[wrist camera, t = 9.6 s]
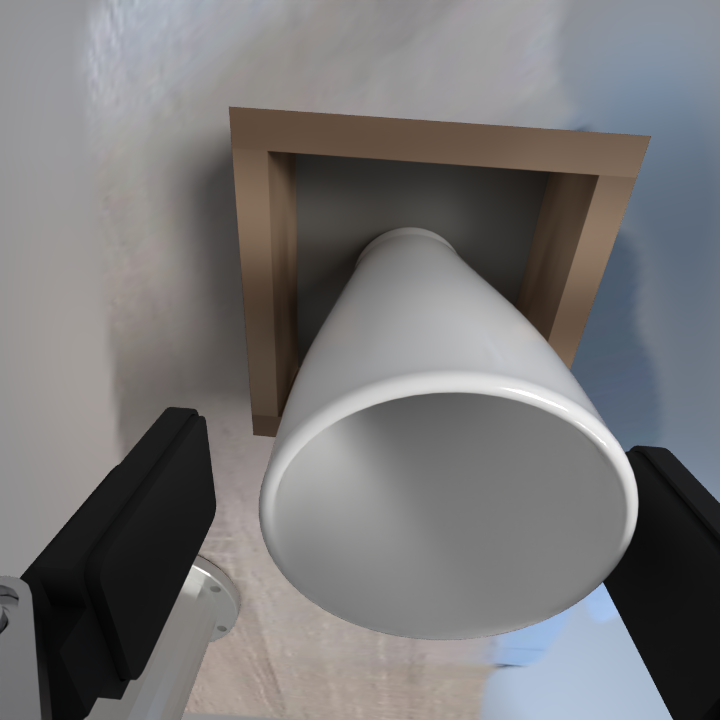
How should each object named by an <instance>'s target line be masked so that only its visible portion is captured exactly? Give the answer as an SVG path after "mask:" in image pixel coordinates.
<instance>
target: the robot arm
mask: <svg viewBox="0 0 720 720" xmlns="http://www.w3.org/2000/svg"><path fill="white" fill-rule="evenodd" d="M625 454H626V456H627V458H628V460H629V463H630V465H631V467H632V470H633V473H634V477H635V480H636V484H637V491H638V516H637V522H636V527H635V531H634V533H633V536H632V539H631V542H630V544H629V546H628V548H627V550H626V552H625V554H624V556H623V557H622V559H621V560H620V562H619V563H618V565H617V566H616V568H615V569H614V570H613V571H612V572H611V574H610V575H609V576H608V577H607V578H606V579H605V580H604V581H603V583H604V585H605V587H606V589H607V591H608V593H609V595H610V597H611V599H612V601H613V603H614V605H615V606H616V608H617V610H618V612H619V614H620V616H621V618H622V620H623V622H624V624H625V626H626V628H627V630H628V632H629V634H630V636H631V638H632V640H633V642H634V644H635V646H636V648H637V649H638V652H639V654H640V656H641V658H642V660H643V661H644V664H645V666H646V668H647V669H648V671H649V673H650V675H651V677H652V679H653V681H654V683H655V685H656V687H657V689H658V691H659V693H660V695H661V697H662V699H663V701H664V703H665V705H666V707H667V709H668V711H669V713H670V715H671V717H672V718H673V720H720V503H719V502H718V501H717V500H716V499H715V498H714V497H713V496H712V495H711V494H710V493H709V492H708V491H707V490H706V488H704V486H702V485H701V483H700V482H699V481H698V480H697V479H696V478H695V477H694V476H693V475H692V474H691V473H690V472H689V471H688V470H687V469H686V468H685V467H684V465H683V464H682V463H681V462H680V461H679V460H678V459H677V458H676V457H675V456H674V455H673V454H672V453H671V452H670V451H669V450H668V449H666V448H661V447H649V446H634V447H633V448H631V449H630V451H628V452H625ZM215 512H216V498H215V490H214V482H213V474H212V466H211V458H210V450H209V442H208V434H207V426H206V420H205V417H203V416H199V415H198V412H197V410H195V409H189V408H177V407H169V408H167V409H166V410H165V411H164V412H163V413H162V414H161V416H160V417H159V418H158V419H157V420H156V422H155V423H154V424H153V425H152V426H151V427H150V429H149V430H148V431H147V432H146V433H145V435H144V436H143V437H142V438H141V439H140V441H139V442H138V443H137V444H136V445H135V447H134V448H133V449H132V450H131V451H130V452H129V454H128V455H127V456H126V457H125V458H124V460H123V461H122V462H121V463H120V464H119V465H117V466H116V467H115V468H113V469H112V470H111V471H110V473H109V474H108V475H107V476H106V477H105V479H104V480H103V481H102V482H101V483H100V484H99V486H98V487H97V488H96V489H95V490H94V491H93V492H92V494H91V495H90V496H89V497H88V499H87V500H86V501H85V502H84V503H83V504H82V506H81V507H80V508H79V509H78V510H77V512H76V513H75V514H74V515H73V516H72V517H71V518H70V520H69V521H68V522H67V523H66V524H65V525H64V527H63V528H62V529H61V530H60V531H59V533H58V534H57V535H56V536H55V537H54V538H53V540H52V541H51V542H50V543H49V544H48V545H47V547H46V548H45V549H44V550H43V551H42V552H41V554H40V555H39V556H38V557H37V558H36V560H35V561H34V562H33V563H32V564H31V565H30V567H29V568H28V569H27V570H26V571H25V572H24V574H23V575H22V576H21V577H20V578H14V577H10V576H0V720H181V718H182V715H183V713H184V710H185V707H186V705H187V702H188V699H189V696H190V694H191V691H192V688H193V685H194V683H195V680H196V677H197V674H198V672H199V669H200V666H201V663H202V661H203V658H204V655H205V652H206V649H207V647H208V644H209V642H212V641H215V640H217V639H220V638H222V637H223V636H225V635H226V634H227V633H229V632H230V631H231V629H232V628H233V627H234V626H235V623H236V620H237V617H238V615H239V611H240V606H241V604H240V596H239V594H238V592H237V589H236V587H235V586H234V584H233V583H232V581H231V580H230V579H229V577H228V576H226V575H225V574H224V573H223V572H222V571H221V570H220V569H219V568H218V567H216V566H215V565H213V564H212V563H211V562H209V561H207V560H206V559H204V558H202V557H200V556H198V555H197V554H198V552H199V550H200V548H201V546H202V543H203V541H204V539H205V537H206V535H207V533H208V530H209V528H210V526H211V524H212V522H213V519H214V516H215Z"/></svg>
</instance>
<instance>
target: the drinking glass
mask: <svg viewBox="0 0 720 720" xmlns="http://www.w3.org/2000/svg"><path fill="white" fill-rule="evenodd" d="M637 516H638V491H637V484H636V480H635V477H634V473H633V470H632V467H631V465H630V463H629V460H628V458H627V456H626V454H625V452H624V451H623V449H622V447H621V446H620V444H619V443H618V441H617V440H616V438H615V437H614V436H613V434H612V433H611V431H610V430H609V428H608V427H607V425H606V424H605V422H604V421H603V419H602V417H601V416H600V414H599V413H598V411H597V410H596V408H595V406H594V405H593V403H592V402H591V400H590V399H589V397H588V396H587V394H586V393H585V391H584V390H583V388H582V387H581V385H580V384H579V382H578V381H577V380H576V378H575V377H574V375H573V374H572V373H571V371H570V370H569V368H568V367H567V366H566V364H565V363H564V362H563V361H562V359H561V358H560V357H559V355H558V354H557V353H556V352H555V350H554V349H553V348H552V347H551V345H550V344H549V343H548V342H547V341H546V339H545V338H544V337H543V336H542V334H541V333H540V332H539V331H538V330H537V329H536V328H535V327H534V325H533V324H532V323H531V322H530V321H529V320H528V319H527V318H526V317H525V316H524V315H523V314H522V313H521V312H520V311H519V310H518V309H517V308H516V307H515V306H514V305H512V304H511V303H510V302H509V301H508V300H507V299H506V298H505V297H504V296H503V295H502V294H501V293H499V292H498V291H497V290H496V289H495V288H494V287H493V286H492V285H490V284H489V283H488V282H487V281H486V280H485V279H484V278H482V277H481V276H480V275H479V274H478V273H477V272H476V271H475V270H474V269H472V268H471V267H470V266H469V265H468V264H467V263H466V262H465V261H464V260H463V259H462V258H461V257H459V255H458V254H457V252H456V251H455V249H454V248H453V247H452V246H451V244H450V243H448V242H447V241H446V240H445V239H444V238H443V237H441V236H439V235H438V234H436V233H434V232H432V231H429V230H426V229H422V228H416V227H403V228H397V229H394V230H391V231H388V232H386V233H384V234H381V235H380V236H378V237H377V238H375V239H374V240H373V241H371V242H370V243H369V244H368V245H367V246H366V248H365V249H364V250H363V251H362V253H361V254H360V256H359V258H358V259H357V262H356V264H355V267H354V270H353V273H352V275H351V277H350V279H349V280H348V282H347V284H346V286H345V287H344V289H343V291H342V293H341V294H340V296H339V298H338V299H337V301H336V303H335V304H334V306H333V308H332V309H331V311H330V313H329V314H328V316H327V318H326V319H325V321H324V323H323V324H322V326H321V328H320V330H319V331H318V333H317V335H316V337H315V338H314V340H313V342H312V344H311V346H310V348H309V350H308V352H307V354H306V356H305V358H304V360H303V363H302V365H301V367H300V369H299V372H298V374H297V376H296V379H295V381H294V384H293V386H292V389H291V392H290V394H289V397H288V400H287V403H286V406H285V409H284V412H283V415H282V418H281V421H280V424H279V428H278V431H277V434H276V438H275V441H274V444H273V448H272V451H271V455H270V459H269V462H268V466H267V469H266V472H265V475H264V478H263V481H262V485H261V490H260V497H259V520H260V528H261V532H262V535H263V539H264V542H265V544H266V547H267V549H268V552H269V554H270V556H271V557H272V559H273V561H274V563H275V564H276V566H277V567H278V569H279V570H280V571H281V573H282V574H283V575H284V576H285V578H286V579H287V580H288V581H289V582H290V583H291V584H292V585H293V586H294V587H295V588H296V589H297V590H298V591H299V592H300V593H301V594H303V595H304V596H305V597H306V598H308V599H309V600H310V601H312V602H313V603H315V604H316V605H318V606H319V607H321V608H322V609H324V610H326V611H328V612H329V613H331V614H333V615H335V616H337V617H339V618H341V619H343V620H345V621H348V622H350V623H353V624H355V625H358V626H361V627H364V628H367V629H370V630H373V631H377V632H381V633H385V634H390V635H395V636H400V637H407V638H414V639H426V640H462V639H474V638H481V637H488V636H494V635H499V634H504V633H508V632H511V631H515V630H519V629H522V628H525V627H528V626H531V625H534V624H536V623H539V622H541V621H544V620H546V619H549V618H551V617H553V616H555V615H557V614H559V613H561V612H563V611H564V610H566V609H568V608H570V607H571V606H573V605H575V604H576V603H577V602H579V601H580V600H582V599H583V598H585V597H586V596H587V595H589V594H590V593H591V592H592V591H594V590H595V589H596V588H597V587H598V586H599V585H600V584H601V583H602V582H603V581H604V580H605V579H606V578H607V577H608V576H609V575H610V574H611V572H612V571H613V570H614V569H615V568H616V566H617V565H618V563H619V562H620V560H621V559H622V557H623V556H624V554H625V552H626V550H627V548H628V546H629V544H630V542H631V539H632V536H633V533H634V531H635V527H636V522H637Z"/></svg>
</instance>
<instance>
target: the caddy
mask: <svg viewBox="0 0 720 720" xmlns="http://www.w3.org/2000/svg"><path fill="white" fill-rule="evenodd" d="M229 115H230V128H231V142H232V155H233V168H234V182H235V195H236V208H237V222H238V235H239V248H240V262H241V275H242V288H243V301H244V315H245V328H246V341H247V355H248V368H249V381H250V395H251V408H252V421H253V435H259V436H269V437H276V434H277V431H278V428H279V424H280V421H281V418H282V415H283V412H284V409H285V406H286V403H287V400H288V397H289V394H290V392H291V389H292V386H293V384H294V381H295V379H296V376H297V374H298V372H299V369H300V367H301V365H302V363H303V360H304V358H305V356H306V354H307V352H308V350H309V348H310V346H311V344H312V342H313V340H314V338H315V337H316V335H317V333H318V331H319V330H320V328H321V326H322V324H323V323H324V321H325V319H326V318H327V316H328V314H329V313H330V311H331V309H332V308H333V306H334V304H335V303H336V301H337V299H338V298H339V296H340V294H341V293H342V291H343V289H344V287H345V286H346V284H347V282H348V280H349V279H350V277H351V275H352V273H353V270H354V267H355V264H356V262H357V259H358V258H359V256H360V254H361V253H362V251H363V250H364V249H365V248H366V246H367V245H368V244H369V243H370V242H371V241H373V240H374V239H375V238H377V237H378V236H380V235H381V234H384V233H386V232H388V231H391V230H394V229H397V228H403V227H416V228H422V229H426V230H429V231H432V232H434V233H436V234H438V235H439V236H441V237H443V238H444V239H445V240H446V241H447V242H448V243H450V244H451V246H452V247H453V248H454V249H455V251H456V252H457V254H458V255H459V257H461V258H462V259H463V260H464V261H465V262H466V263H467V264H468V265H469V266H470V267H471V268H472V269H474V270H475V271H476V272H477V273H478V274H479V275H480V276H481V277H482V278H484V279H485V280H486V281H487V282H488V283H489V284H490V285H492V286H493V287H494V288H495V289H496V290H497V291H498V292H499V293H501V294H502V295H503V296H504V297H505V298H506V299H507V300H508V301H509V302H510V303H511V304H512V305H514V306H515V307H516V308H517V309H518V310H519V311H520V312H521V313H522V314H523V315H524V316H525V317H526V318H527V319H528V320H529V321H530V322H531V323H532V324H533V325H534V327H535V328H536V329H537V330H538V331H539V332H540V333H541V334H542V336H543V337H544V338H545V339H546V341H547V342H548V343H549V344H550V345H551V347H552V348H553V349H554V350H555V352H556V353H557V354H558V355H559V357H560V358H561V359H562V361H563V362H564V363H565V364H566V366H567V367H568V368H569V370H570V368H571V365H572V362H573V359H574V356H575V353H576V350H577V348H578V345H579V342H580V339H581V336H582V333H583V330H584V328H585V325H586V322H587V319H588V316H589V313H590V310H591V307H592V305H593V302H594V299H595V296H596V293H597V290H598V287H599V285H600V282H601V279H602V276H603V273H604V270H605V267H606V264H607V262H608V259H609V256H610V253H611V250H612V247H613V244H614V242H615V239H616V236H617V233H618V230H619V227H620V224H621V221H622V219H623V216H624V213H625V210H626V207H627V204H628V201H629V199H630V196H631V193H632V190H633V187H634V184H635V181H636V178H637V176H638V173H639V170H640V167H641V164H642V161H643V158H644V155H645V153H646V150H647V147H648V144H649V141H650V138H651V136H642V135H628V134H613V133H599V132H585V131H570V130H556V129H542V128H527V127H513V126H499V125H484V124H470V123H456V122H441V121H427V120H413V119H398V118H384V117H370V116H355V115H341V114H326V113H312V112H298V111H283V110H269V109H255V108H240V107H229Z"/></svg>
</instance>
